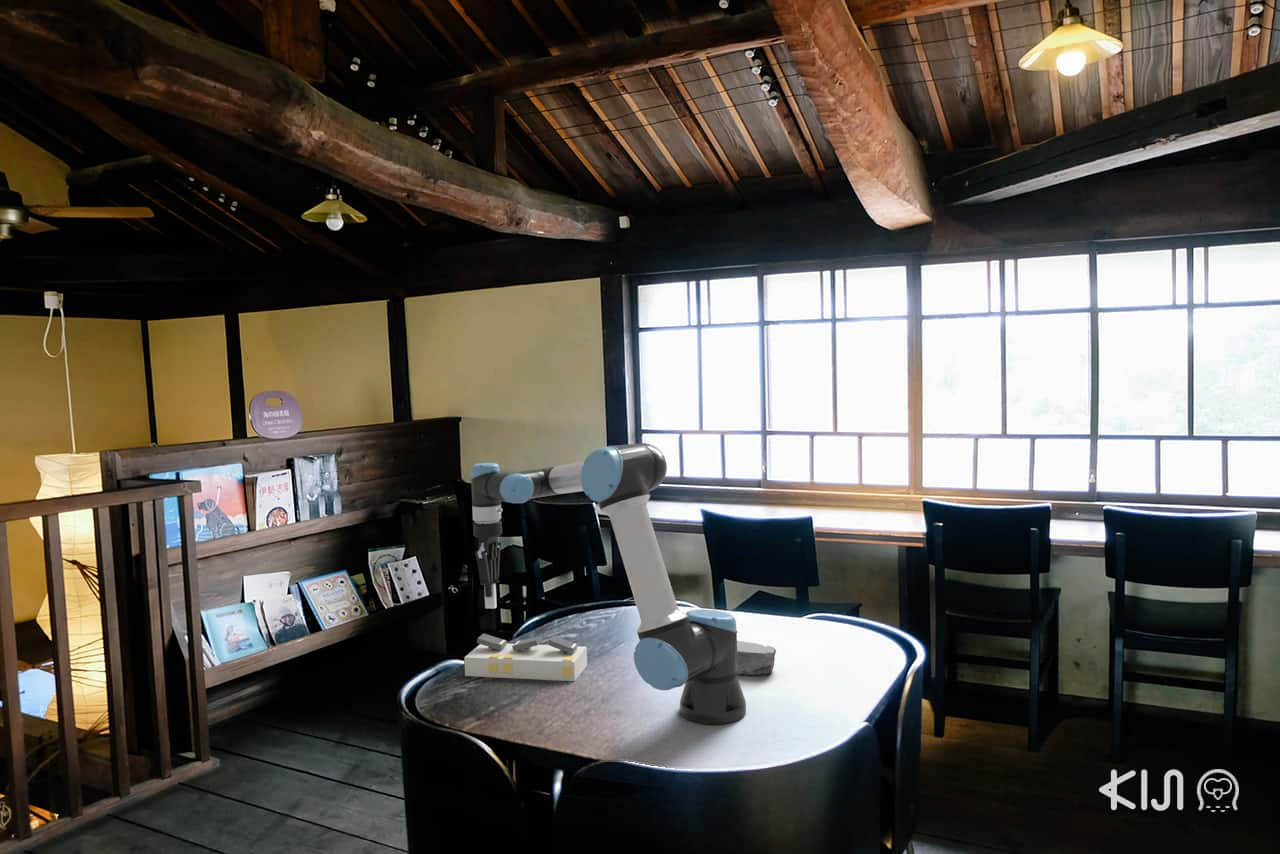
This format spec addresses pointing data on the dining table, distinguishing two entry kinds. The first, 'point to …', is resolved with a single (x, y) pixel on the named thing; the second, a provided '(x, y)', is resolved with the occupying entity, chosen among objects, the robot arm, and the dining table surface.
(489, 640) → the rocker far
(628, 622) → the dining table surface
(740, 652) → the decorative stone
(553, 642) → the rocker near
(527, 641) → the rocker middle
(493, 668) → the switch console
